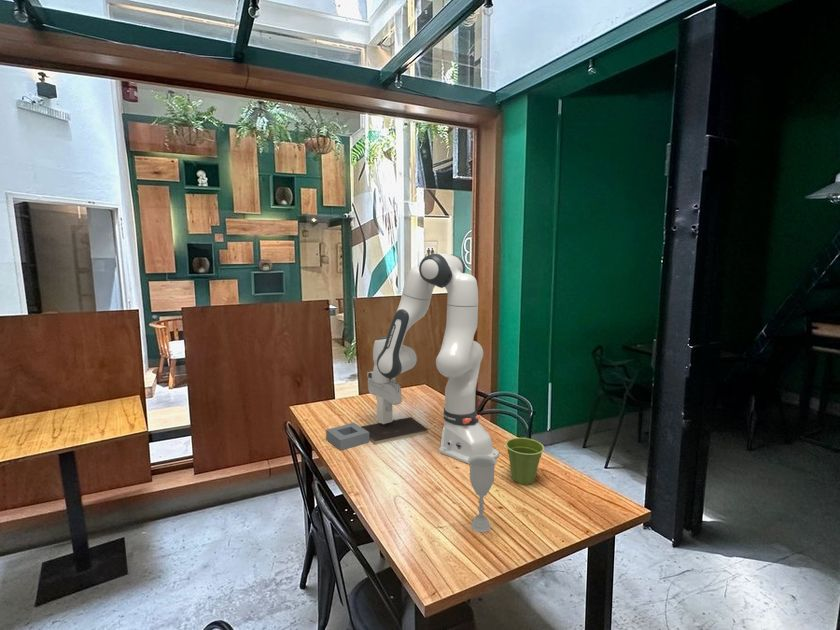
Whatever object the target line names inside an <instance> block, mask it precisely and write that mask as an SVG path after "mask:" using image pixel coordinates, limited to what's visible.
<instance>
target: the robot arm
mask: <svg viewBox="0 0 840 630" xmlns="http://www.w3.org/2000/svg"><path fill="white" fill-rule="evenodd" d="M465 264H466V263H465V262H464V260H463V259H462V258H461V257H460V256H458V255H456V254H450V253H444V252H440V253H439V252H438V253H430V254H428V255H426V256H425V257H423V259H421V261H420V263H419V264H418V265H419V266H413V267H412V268H410V269H409V272H408V274H407V276H406V279H405V282H404V285H403V288H402V293H401V298H400V301H399V305H398V307H397V309H396V311H395V314H394V315H393V318H392V321H391V323H390V326H389V330H388V333H387V336H382V337H378V338H376V339H375V340H374V343H373V347H372V359H373V369H372V370H373V371H367V374H366V375H367V376H366V377H367V389H368V392H369V394H371V395H372V396H375V397H376V398H375V399H376V400H377V395H379V396H382V397H384V400H385V401H387V404H388V405H387V407H386V411H388V412H391V410H392V411H393V406H396V405H400V404H402V401H403V399H402V398H403V397H402V388H401V386H400V384H399V383H398V381H397V380H396V377H398V376H399V375H400V374H404V373H405V372H407V371H410V370H411V369H413V368H414V367H416V365H417V362H418V355H417V353H416V351H415V350H414V349H413V347H411V346H407V345H404V341H405V337H406V335H407V334H408V333H407V332H408V330H410V328H411V327H412V326H413V325H415V323H417V322H418V321H420V320H421V319H422V318H423V317H425V316H426V314H427V313H428V310H429V307H430V305H431V301H432V297H433V291H434V289H435V287H438V288H441V289H443V288H444V289H446V292H447V300H446V301H447V302H446V303H447V304H446V322H445V323H446V325H445V331H444V334H443V339H442V341H441V342H442V343H441V346H440V347H441V348H440V351H439V352H438V355H436V359H435V365H436V369H437V371H438V372H439V373H440V375H441V376H443V377H445V378H448V380H447V382H446V384H445V389H444V408H443V420H444V423H443V426H442V432H441V439H440V443H439V444H440V445H439V448H438V452H439V453H440V454H443V455H445V456H448V457H450V458H453V459H456V460H458V461H461V462H463V463H465V464H468V465H470V464H469V462H468V459H469V457H471V456H474V455H487V456H491V457H493V458H495V459H497V458H498V457H499V455H500V452H499V450H497V449H496V448H494V447H493V440H492V438H491V435H490V434H489V431H487V430H486V429H485V428H484V427H483V426H482V424H481V423H480V421H479V419H481V414H478V411H477V409H476V392H477V391H476V389H477V383H478V380H479V379H478V378H479V373H480V368H481V363H482V360H483V358H484V350H483V346H482V345H481V344H480V343H479V342H477V341H475V340H474V337H475V333H476V331H477V329H478V326H479V325H478V321H479V320H478V319H479V287H478V281H477V279H476V277H475V276H474V275H471V274H470V273H466V265H465Z"/></svg>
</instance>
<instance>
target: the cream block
mask: <svg viewBox="0 0 840 630" xmlns="http://www.w3.org/2000/svg"><path fill="white" fill-rule="evenodd" d="M387 405H388V404H387V401H385V400H384V397H382V396H379V395H377V399H376V421H377V423H382V424H386V423H390V422H392V420H393V409H392V410H391V412H388V411H386V407H387Z"/></svg>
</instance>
